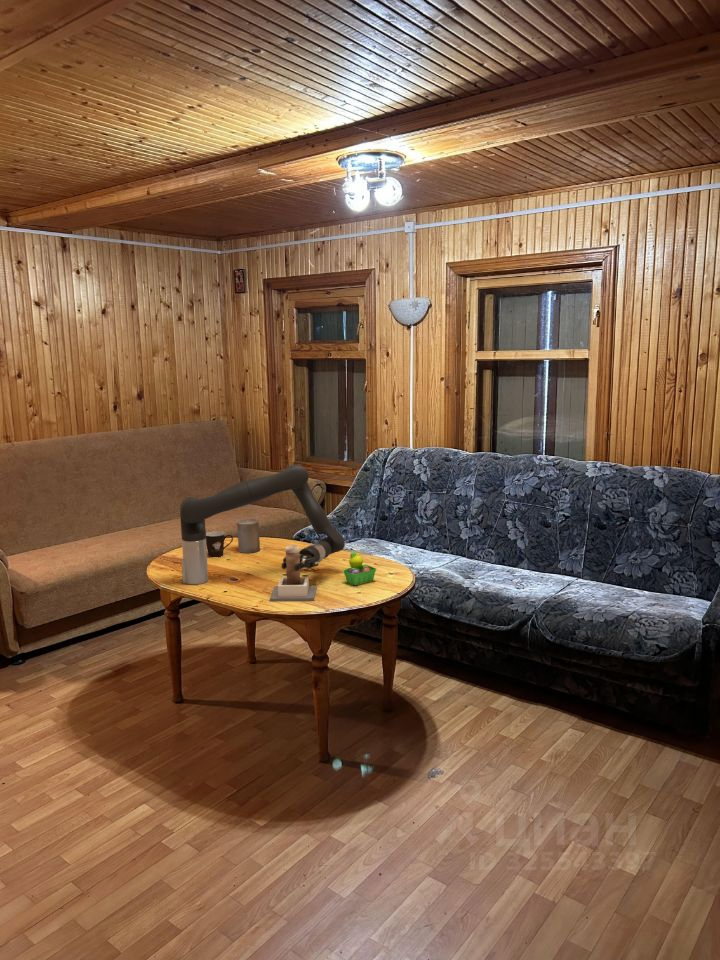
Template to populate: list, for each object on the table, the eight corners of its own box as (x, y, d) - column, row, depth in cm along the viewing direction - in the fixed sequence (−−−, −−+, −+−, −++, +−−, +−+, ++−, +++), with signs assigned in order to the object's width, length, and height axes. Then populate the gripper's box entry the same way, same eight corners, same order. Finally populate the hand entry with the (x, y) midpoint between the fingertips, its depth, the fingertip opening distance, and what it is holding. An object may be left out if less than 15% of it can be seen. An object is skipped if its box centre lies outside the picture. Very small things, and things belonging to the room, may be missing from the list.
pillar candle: (262, 547, 335) (260, 515, 332) (257, 553, 325) (255, 520, 322) (241, 547, 336) (239, 515, 333) (235, 553, 326) (234, 520, 323)
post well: (269, 601, 263) (269, 587, 262) (274, 588, 277) (274, 576, 276) (314, 600, 263) (313, 587, 262) (316, 588, 277) (316, 575, 276)
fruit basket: (353, 587, 278) (353, 558, 276) (340, 581, 285) (340, 553, 283) (377, 581, 284) (377, 553, 282) (364, 576, 292) (363, 548, 290)
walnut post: (286, 591, 267) (284, 548, 264) (287, 586, 272) (286, 545, 269) (299, 591, 267) (298, 548, 264) (301, 586, 272) (299, 545, 269)
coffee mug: (203, 558, 318) (202, 536, 317) (208, 553, 327) (207, 531, 325) (230, 558, 318) (229, 536, 316) (234, 552, 327) (233, 531, 325)
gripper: (295, 543, 283) (272, 555, 268) (328, 547, 277) (306, 559, 262) (296, 562, 285) (272, 574, 269) (328, 566, 279) (306, 579, 263)
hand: (289, 567), depth 266 cm, fingers closed on walnut post, 5 cm apart
